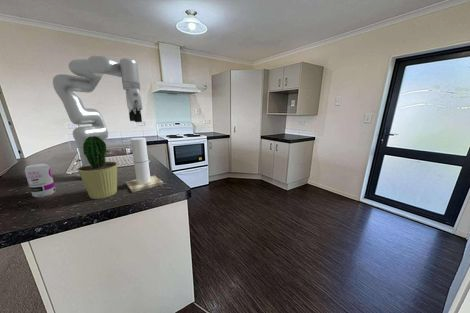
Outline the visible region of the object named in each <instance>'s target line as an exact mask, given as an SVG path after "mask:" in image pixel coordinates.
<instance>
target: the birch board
mask: <svg viewBox="0 0 470 313" xmlns="http://www.w3.org/2000/svg"><path fill="white" fill-rule="evenodd" d="M150 179H151V181H150V182H149V183H146V184H137V181H136V179H132V180H129V181H125V185H126V187H127V188H128V189H129V190H130V192H131V193H136V192H138V191H142V190H146V189H151V188H153V187H157V186H161V185H164V181H162V180H161V179H160V178H158V176H156V175H155V174H153V175H150Z"/></svg>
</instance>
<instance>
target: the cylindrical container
mask: <svg viewBox="0 0 470 313" xmlns="http://www.w3.org/2000/svg"><path fill="white" fill-rule="evenodd" d="M130 145H131V152H132V159H133V160H132V161H133V166H134V172H135V178H136V179H135V180H136V181H137V184H146V183H149V182H150V181H151V179H150V176H151V173H150V165H149V163H150V162H149V157H148V149H147V148H148V147H147V146H148V145H147V138H146V137H133V138H132V137H131V138H130Z"/></svg>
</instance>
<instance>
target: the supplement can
mask: <svg viewBox="0 0 470 313" xmlns="http://www.w3.org/2000/svg"><path fill="white" fill-rule="evenodd" d="M24 173H25V176H26V179H27V184H28V187H29V190H30V193H31V196H32V197H34V198H43V197H48V196H51V195H54V193H55V192H56V191H57V189H56V186H55V181H54V178H53V177H54V176H53V175H52V171H51V168H50V166H49V165H48V164H47V163H36V164H30V165H27V166H26V167H25V169H24Z"/></svg>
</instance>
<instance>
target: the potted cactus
mask: <svg viewBox="0 0 470 313" xmlns="http://www.w3.org/2000/svg"><path fill="white" fill-rule="evenodd" d="M87 137H88V136H87ZM84 141H85V140H84ZM82 149H83V151H84V152H83V153H84V155H86V157H87V160H88V162H89V164H88V165H84V166H82V165H81V166H80V167H78V168H77V171H78V173H79V174H80V176H79V177H80V178H81V180H82V183H83V185H84V187H85V189H86V191H87V192H86V193H87V194H88V197H89V198H91V200H93V199H94V200H99V199H106V198H108V197H111V196H113V195H115V194H117V193H118V162H116V161H107V160H106V155H107V153H106V152H108V151H109V150H107V142H106V141H104V140H102V139H100V138H98V137H97V136H93V137H91V136H90V137H88V138H87V139H86V141H85V142H84V144H83V148H82Z"/></svg>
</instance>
